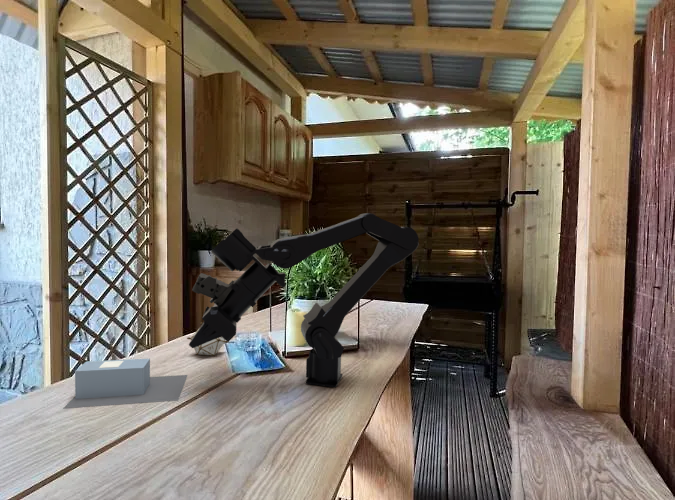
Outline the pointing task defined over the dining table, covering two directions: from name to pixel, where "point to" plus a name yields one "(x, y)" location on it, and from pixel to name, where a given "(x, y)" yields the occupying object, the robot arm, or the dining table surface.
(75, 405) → the mat
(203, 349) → the game die
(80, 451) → the dining table surface
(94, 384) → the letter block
